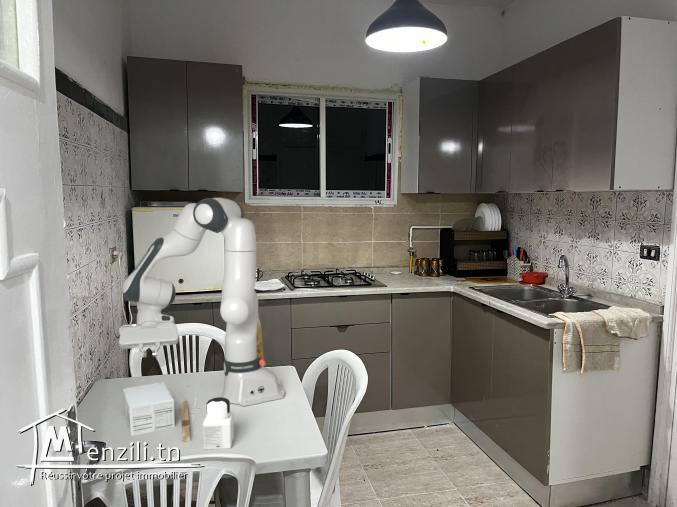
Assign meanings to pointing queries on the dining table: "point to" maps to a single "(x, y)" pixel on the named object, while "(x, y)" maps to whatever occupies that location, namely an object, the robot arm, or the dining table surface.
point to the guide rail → (185, 421)
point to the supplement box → (148, 408)
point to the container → (218, 424)
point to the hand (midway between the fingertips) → (149, 356)
